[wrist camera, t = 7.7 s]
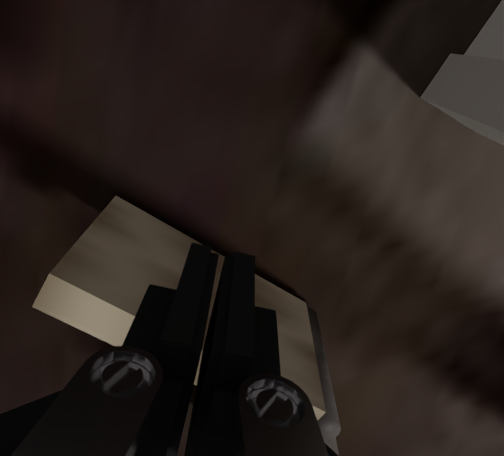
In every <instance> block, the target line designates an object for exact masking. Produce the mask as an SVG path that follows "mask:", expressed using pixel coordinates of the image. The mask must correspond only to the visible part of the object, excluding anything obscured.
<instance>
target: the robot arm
mask: <svg viewBox="0 0 504 456" xmlns="http://www.w3.org/2000/svg"><path fill="white" fill-rule="evenodd" d="M211 250H212V247H211V246H206V245H201V244H197V243H191V246H190V249H189V252H188V255H187V259H186V262H185V265H184V268H183V271H182V274H181V277H180V280H179V283H178V286H177V289H171V288H167V287H162V286H157V285H152V284H150V285H149V286H148V288H147V291H146V293H145V295H144V297H143V300H142V302H141V304H140V306H139V309H138V311H137V313H136V315H135V318H134V320H133V322H132V324H131V327H130V329H129V331H128V333H127V336H126V338H125V340H124V342H123V345H122V346H114V347H109V348H105V349H102V350H100V351H98V352H96V353H94V354H93V355H92V356H91V357H90V358H88V359H87V360H86V361H85V363H84V364H83V365H82V366H81V368H80V369H79V370H78V371H77V373H76V374H75V375H74V376H73V378H72V379H71V380H70V381H69V383H68V384H67V385H66V386H65V388H64V389H63V390H61V391H59V392H56V393H54V394H51V395H48V396H46V397H43V398H41V399H38V400H36V401H33V402H30V403H28V404H25V405H23V406H20V407H18V408H15V409H12V410H10V411H7V412H5V413H2V414H0V456H177V452H178V448H179V444H180V440H181V435H182V431H183V427H184V423H185V419H186V415H187V411H188V406H189V402H190V398H191V394H192V390H193V386H194V381H195V377H196V373H197V369H198V365H199V361H200V356H201V352H202V347H203V352H202V357H201V363H200V369H199V375H198V380H197V386H196V392H195V398H194V403H193V409H192V415H191V421H190V426H189V432H188V438H187V444H186V449H185V455H184V456H338V455H337V454H336V453H335V452H334V451H333V450H332V449H331V448H330V447H329V446H328V445H327V444H326V443H324V439H323V436H322V433H321V430H320V427H319V424H318V421H317V418H316V415H315V412H314V409H313V406H312V403H311V402H310V400H309V398H308V396H307V394H306V393H305V392H304V391H303V390H302V389H301V388H300V387H299V386H298V385H297V384H295V383H294V382H292V381H291V380H289V379H286V378H284V377H282V376H281V369H280V356H279V342H278V329H277V316H276V311H275V310H272V309H267V308H263V307H258V306H255V256H252V255H247V254H243V253H238V252H234V255H233V257H231V256H226V255H225V259H224V263H223V267H222V271H221V275H220V279H219V283H218V288H217V292H216V296H215V300H214V304H213V308H212V312H211V317H210V321H209V325H208V329H207V333H206V337H205V331H206V325H207V320H208V314H209V308H210V303H211V297H212V291H213V286H214V280H215V274H216V268H217V263H218V257H219V254H217V253H212V252H211ZM204 337H205V342H204ZM203 342H204V346H203Z"/></svg>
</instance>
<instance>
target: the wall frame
mask: <svg viewBox="0 0 504 456" xmlns="http://www.w3.org/2000/svg"><path fill="white" fill-rule="evenodd" d="M420 98H421V99H423V100H425V101H426V102H428V103H430V104H431V105H433V106H434V107H436V108H438V109H439V110H441V111H442V112H444V113H446V114H447V115H449V116H450V117H452V118H454V119H455V120H457V121H458V122H460V123H462V124H463V125H465V126H466V127H468V128H470V129H471V130H473V131H475V132H477V133H479V134H481V135H483V136H485V137H487V138H489V139H492V140H494V141H496V142H498V143H500V144H502V145H504V0H502V1H501V2H500V4H499V5H498V6H497V8H496V9H495V11H494V12H493V14H492V15H491V16H490V18H489V19H488V21H487V22H486V24H485V25H484V26H483V28H482V29H481V31H480V32H479V33H478V35H477V36H476V38H475V39H474V41H473V42H472V43H471V45H470V46H469V48H468V49H467V51H466V52H465V53H464V55H460V54H452V53H450V55H449V56H448V58H447V59H446V61H445V62H444V64H443V65H442V66H441V68H440V69H439V71H438V72H437V74H436V75H435V77H434V78H433V80H432V81H431V82H430V84H429V85H428V87H427V88H426V90H425V91H424V93H423V94H422V95H421V97H420ZM324 443H326V444H327V445H328V446H329V447H330V448H331V449H332V450H333V451H334V452H335V453H336V454H337V455H338V456H339V453H338V448H337V443H336V438H334V439H331V440H328V441H324Z"/></svg>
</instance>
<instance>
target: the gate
mask: <svg viewBox="0 0 504 456" xmlns="http://www.w3.org/2000/svg"><path fill="white" fill-rule="evenodd" d="M191 243H197V244H201V243H199V242H198V241H196V240H194V239H192V238H190V237H189V236H187V235H185V234H183V233H182V232H180V231H178V230H176V229H174V228H173V227H171V226H169V225H167V224H166V223H164V222H162V221H160V220H159V219H157V218H155V217H153V216H151V215H150V214H148V213H146V212H144V211H143V210H141V209H139V208H137V207H135V206H134V205H132V204H130V203H128V202H127V201H125V200H123V199H121V198H120V197H118V196H115V197H114V198H113V199H112V201H111V202H110V203H109V204H108V205H107V206H106V208H105V209H104V210H103V211H102V212H101V214H100V215H99V216H98V217H97V218H96V219H95V221H94V222H93V223H92V224H91V225H90V226H89V228H88V229H87V230H86V231H85V232H84V233H83V235H82V236H81V237H80V238H79V239H78V241H77V242H76V243H75V244H74V245H73V246H72V248H71V249H70V250H69V251H68V252H67V253H66V255H65V256H64V257H63V258H62V259H61V260H60V262H59V263H58V264H57V265H56V266H55V268H54V269H53V270H52V271H51V272H50V273H49V275H48V277H47V279H46V281H45V283H44V285H43V287H42V289H41V291H40V293H39V295H38V296H37V298H36V300H35V302H34V304H33V306H32V307H34V308H36V309H38V310H40V311H42V312H44V313H46V314H48V315H50V316H53V317H55V318H57V319H59V320H61V321H63V322H65V323H67V324H69V325H71V326H73V327H75V328H78V329H80V330H82V331H84V332H86V333H88V334H90V335H92V336H94V337H96V338H98V339H100V340H103V341H105V342H107V343H109V344H111V345H113V346H122V345H123V342H124V340H125V338H126V336H127V333H128V331H129V329H130V327H131V324H132V322H133V320H134V318H135V315H136V313H137V311H138V309H139V306H140V304H141V302H142V300H143V297H144V295H145V293H146V291H147V288H148V286H149V285H150V284H152V285H157V286H162V287H167V288H171V289H177V286H178V283H179V280H180V277H181V274H182V271H183V268H184V265H185V262H186V259H187V255H188V252H189V249H190V246H191ZM201 245H203V244H201ZM211 252H212V253H217V252H215V251H213V250H211ZM217 254H219V253H217ZM224 259H225V257H224V256H222V255H221V254H219V257H218V263H217V268H216V274H215V280H214V286H213V291H212V297H211V303H210V308H209V314H208V320H207V325H206V331H205V337H206V333H207V329H208V325H209V321H210V317H211V312H212V308H213V304H214V300H215V296H216V292H217V288H218V283H219V279H220V275H221V271H222V267H223V263H224ZM255 306H258V307H263V308H267V309H272V310H275V311H276V316H277V329H278V342H279V356H280V369H281V376H282V377H284V378H286V379H289V380H291V381H292V382H294V383H295V384H297V385H298V386H299V387H300V388H301V389H302V390H303V391H304V392H305V393H306V394H307V396H308V398H309V400H310V402H311V403H312V406H313V409H314V412H315V415H316V418H317V421H318V424H319V427H320V430H321V433H322V436H323V439H324V441H328V440H331V439H334V438H335V437H337V436H338V435H339V433H340V430H341V428H340V423H339V418H338V413H337V409H336V404H335V399H334V394H333V389H332V385H331V380H330V375H329V370H328V366H327V361H326V356H325V351H324V347H323V342H322V337H321V332H320V328H319V323H318V318H317V314H316V312H315V311H314V310H313V309H311V308H307V304H306V302H304V301H302V300H300V299H299V298H297V297H295V296H293V295H291V294H290V293H288V292H286V291H284V290H283V289H281V288H279V287H277V286H276V285H274V284H272V283H270V282H268V281H267V280H265V279H263V278H261V277H260V276H258V275H256V274H255ZM205 337H204V342H205ZM204 342H203V346H204ZM202 352H203V347H202ZM202 352H201V356H200V361H199V365H198V369H197V373H196V377H195V381H194V385H196V386H197V380H198V375H199V369H200V363H201V357H202Z"/></svg>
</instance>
